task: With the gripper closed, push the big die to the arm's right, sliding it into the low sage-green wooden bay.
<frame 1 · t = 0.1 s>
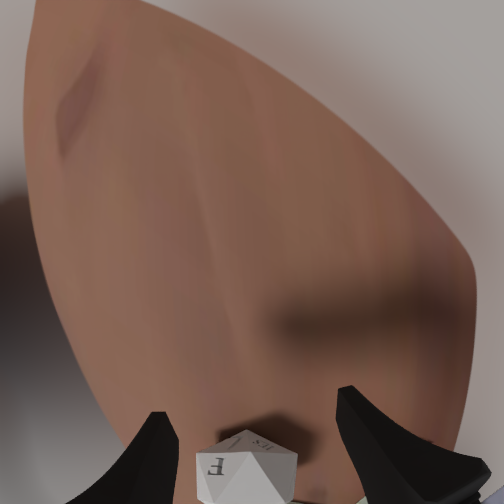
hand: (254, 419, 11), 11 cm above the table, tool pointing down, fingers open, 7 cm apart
die: (244, 449, 23), on the table
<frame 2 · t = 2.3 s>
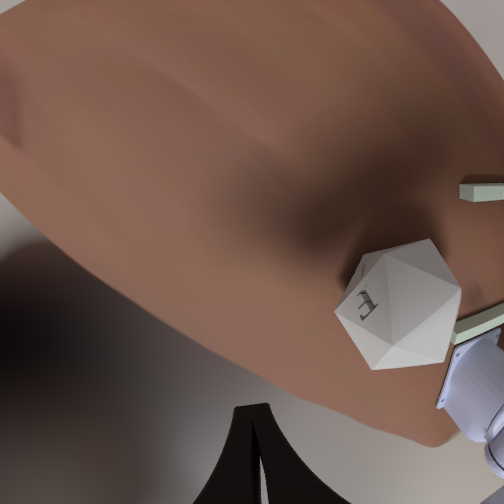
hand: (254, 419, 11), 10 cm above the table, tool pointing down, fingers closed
die: (378, 282, 21), on the table
bay: (487, 258, 22), on the table
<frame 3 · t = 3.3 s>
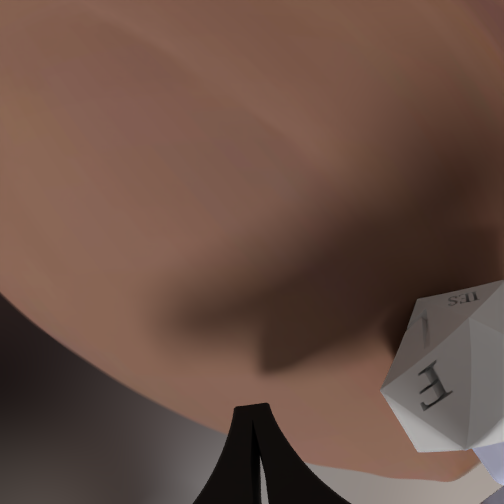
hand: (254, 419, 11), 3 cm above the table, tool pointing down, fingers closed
die: (428, 332, 14), on the table
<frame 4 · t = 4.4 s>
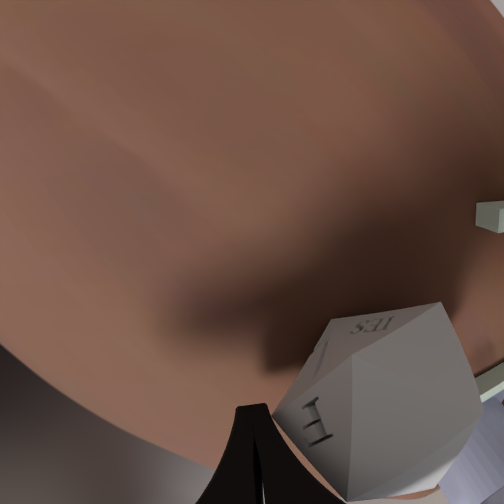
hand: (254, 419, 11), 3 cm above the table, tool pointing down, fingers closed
die: (354, 354, 14), on the table, touching gripper
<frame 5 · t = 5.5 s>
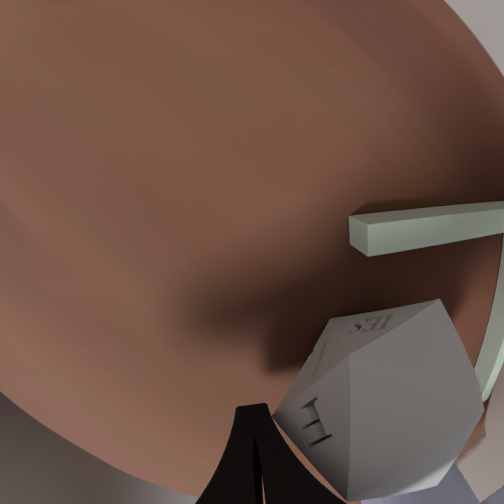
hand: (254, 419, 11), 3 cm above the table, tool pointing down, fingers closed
die: (355, 353, 14), on the table, touching gripper
bay: (424, 337, 14), on the table
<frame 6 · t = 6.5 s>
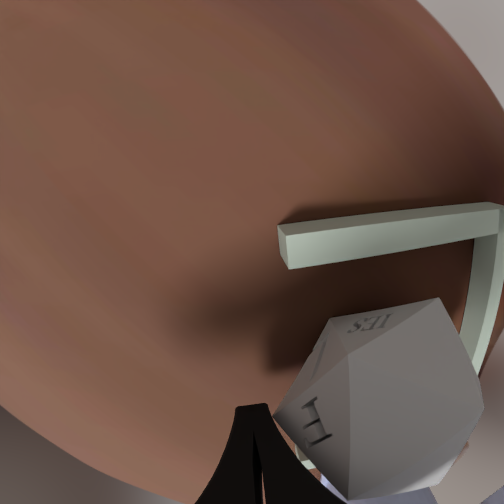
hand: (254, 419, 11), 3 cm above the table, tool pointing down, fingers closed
die: (355, 352, 14), on the table, touching gripper
bay: (379, 350, 14), on the table
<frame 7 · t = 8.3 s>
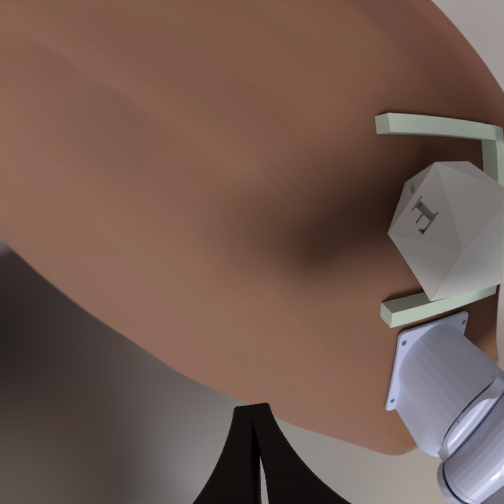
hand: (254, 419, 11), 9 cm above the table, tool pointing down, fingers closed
die: (420, 215, 19), on the table
bay: (435, 216, 19), on the table
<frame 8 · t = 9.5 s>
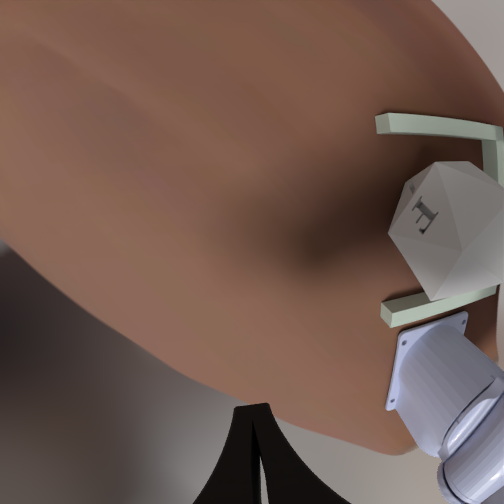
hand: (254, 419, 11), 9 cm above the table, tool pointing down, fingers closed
die: (420, 215, 19), on the table
bay: (435, 216, 19), on the table
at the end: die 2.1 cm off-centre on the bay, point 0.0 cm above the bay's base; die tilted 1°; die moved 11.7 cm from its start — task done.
